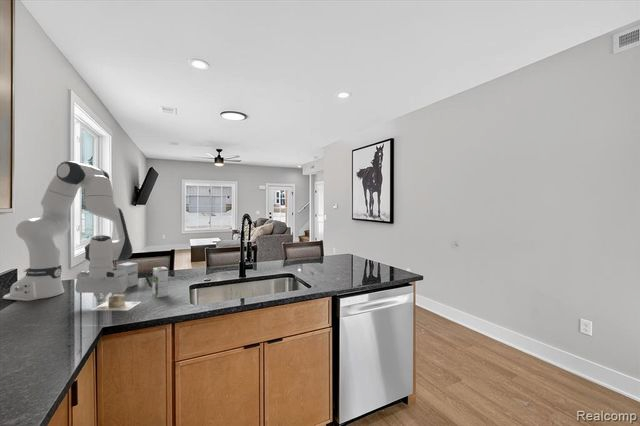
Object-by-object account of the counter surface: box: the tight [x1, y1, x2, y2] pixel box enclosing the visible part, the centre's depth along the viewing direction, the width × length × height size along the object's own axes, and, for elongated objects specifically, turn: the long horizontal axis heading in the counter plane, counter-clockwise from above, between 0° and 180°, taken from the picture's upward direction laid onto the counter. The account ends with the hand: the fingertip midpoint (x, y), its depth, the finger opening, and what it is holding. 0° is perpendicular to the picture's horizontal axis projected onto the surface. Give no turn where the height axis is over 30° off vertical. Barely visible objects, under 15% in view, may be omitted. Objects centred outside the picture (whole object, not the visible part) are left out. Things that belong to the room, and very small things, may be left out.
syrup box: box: [151, 266, 169, 299], centre depth 146 cm, size 6×6×14 cm
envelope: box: [90, 301, 142, 311], centre depth 130 cm, size 16×11×1 cm
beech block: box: [108, 293, 126, 307], centre depth 130 cm, size 4×4×4 cm
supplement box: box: [116, 261, 139, 289], centre depth 161 cm, size 7×7×13 cm
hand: (101, 301), depth 130 cm, fingers closed
